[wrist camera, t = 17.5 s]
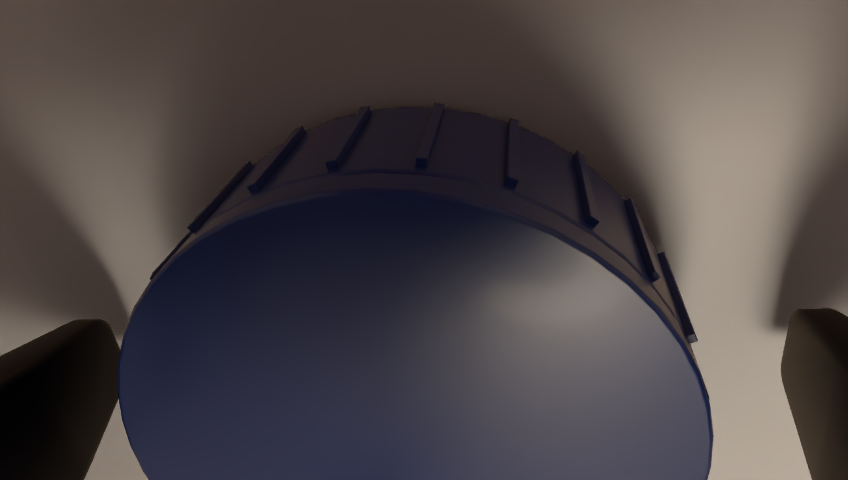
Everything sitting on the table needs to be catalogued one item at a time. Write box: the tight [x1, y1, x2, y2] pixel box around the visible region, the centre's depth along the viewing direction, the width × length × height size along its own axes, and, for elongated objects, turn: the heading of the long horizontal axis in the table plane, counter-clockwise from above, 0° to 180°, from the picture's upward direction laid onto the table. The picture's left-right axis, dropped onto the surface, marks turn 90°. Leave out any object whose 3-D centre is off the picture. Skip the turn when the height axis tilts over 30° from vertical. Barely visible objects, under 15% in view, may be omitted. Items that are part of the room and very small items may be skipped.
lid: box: [118, 103, 713, 480], centre depth 8 cm, size 6×6×2 cm
